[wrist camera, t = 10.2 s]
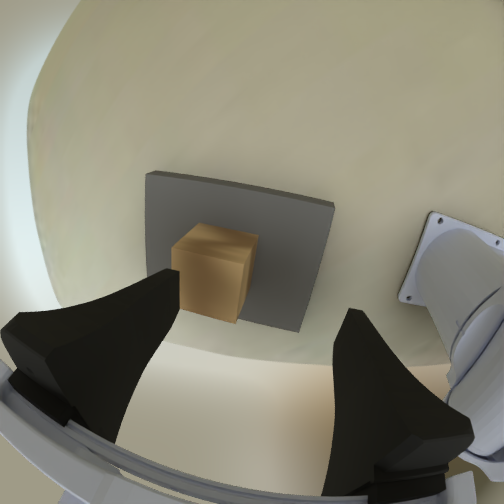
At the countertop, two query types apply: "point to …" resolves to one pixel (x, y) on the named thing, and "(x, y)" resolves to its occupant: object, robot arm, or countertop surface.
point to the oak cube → (214, 270)
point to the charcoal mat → (251, 221)
